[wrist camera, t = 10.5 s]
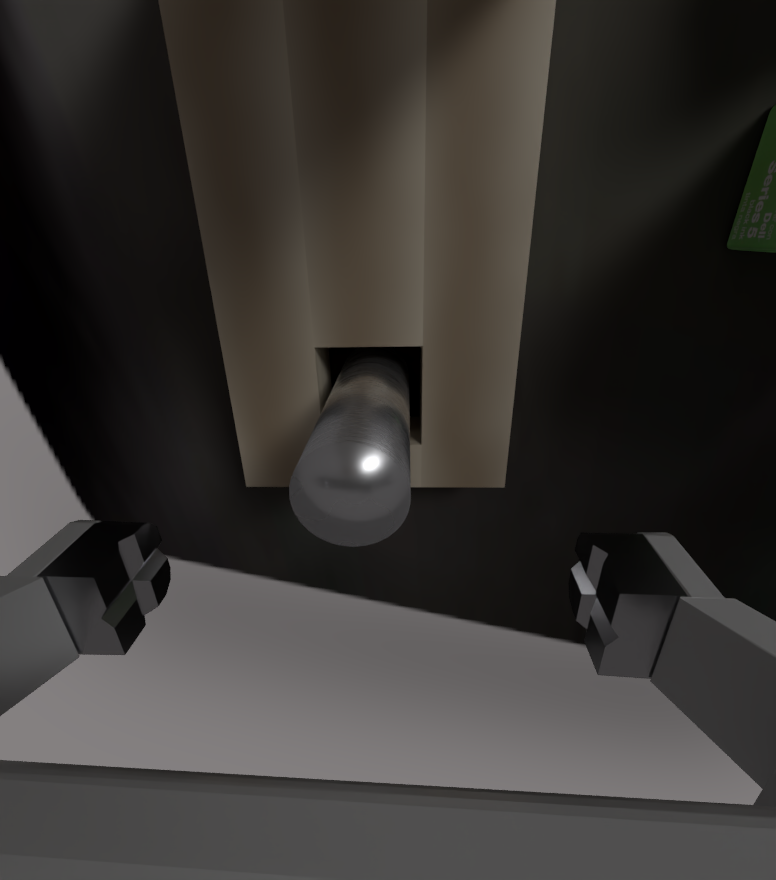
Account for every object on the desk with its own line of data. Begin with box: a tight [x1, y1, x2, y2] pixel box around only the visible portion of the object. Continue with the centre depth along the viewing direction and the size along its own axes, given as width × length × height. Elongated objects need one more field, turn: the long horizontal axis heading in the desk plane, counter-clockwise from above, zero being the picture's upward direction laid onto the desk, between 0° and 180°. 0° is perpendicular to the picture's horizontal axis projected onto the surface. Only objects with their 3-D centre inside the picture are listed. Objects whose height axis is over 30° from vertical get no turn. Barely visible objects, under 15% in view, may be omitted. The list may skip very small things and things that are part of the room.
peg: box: [289, 347, 411, 547], centre depth 15 cm, size 3×3×10 cm
